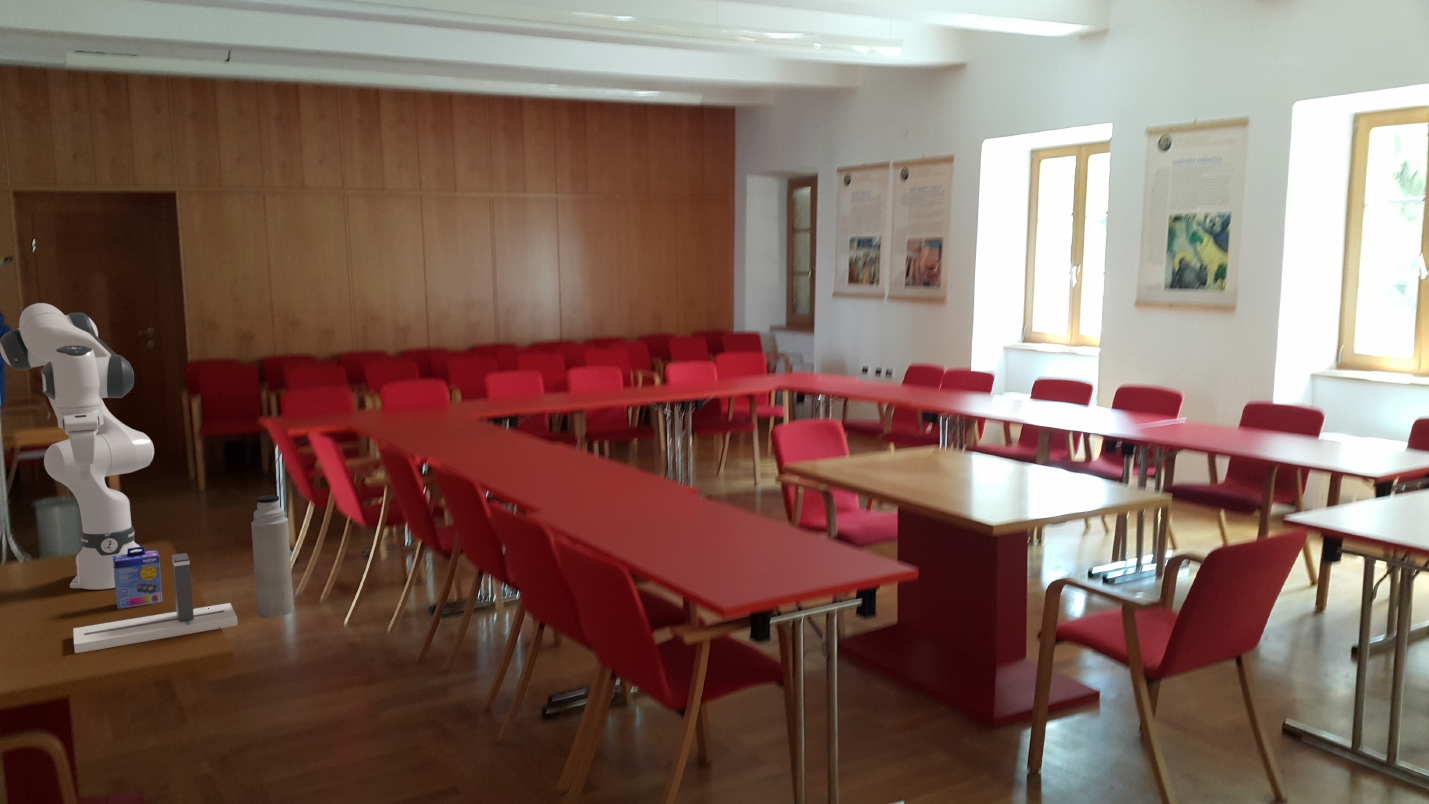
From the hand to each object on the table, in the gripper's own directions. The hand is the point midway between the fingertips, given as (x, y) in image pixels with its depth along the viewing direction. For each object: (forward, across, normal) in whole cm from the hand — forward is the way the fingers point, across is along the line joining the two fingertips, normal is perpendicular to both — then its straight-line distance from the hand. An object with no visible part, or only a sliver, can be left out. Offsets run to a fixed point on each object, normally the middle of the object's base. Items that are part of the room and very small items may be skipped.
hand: (86, 478), depth 239 cm
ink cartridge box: (+34, -12, +9) cm, 37 cm away
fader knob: (+32, +13, +17) cm, 38 cm away
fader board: (+34, +13, +11) cm, 38 cm away
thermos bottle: (+34, +14, +36) cm, 52 cm away
